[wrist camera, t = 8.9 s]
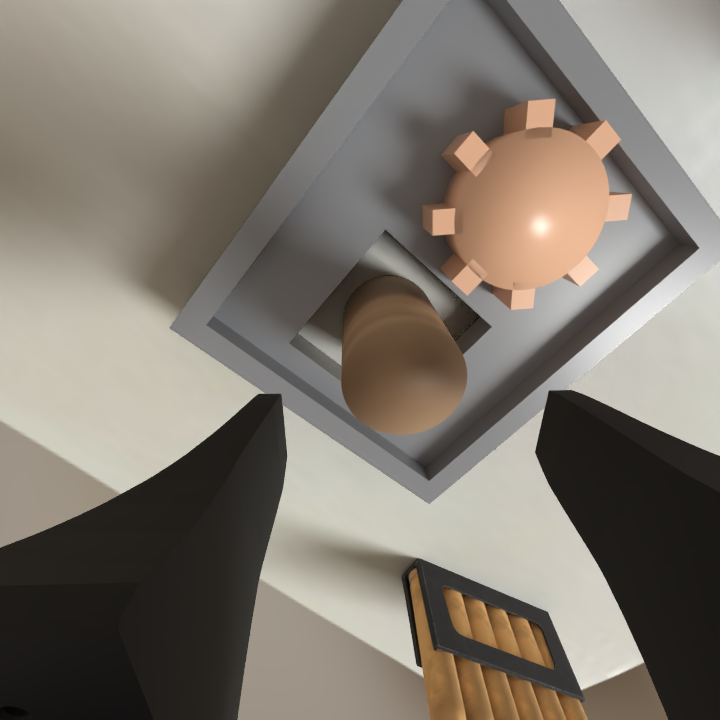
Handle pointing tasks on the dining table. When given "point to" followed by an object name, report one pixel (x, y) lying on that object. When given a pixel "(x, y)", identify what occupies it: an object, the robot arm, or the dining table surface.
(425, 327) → the brown rounded cylinder
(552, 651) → the ammunition clip
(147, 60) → the dining table surface
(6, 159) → the dining table surface
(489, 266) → the housing
